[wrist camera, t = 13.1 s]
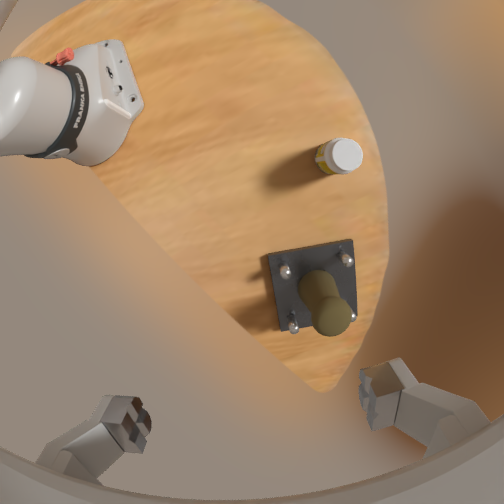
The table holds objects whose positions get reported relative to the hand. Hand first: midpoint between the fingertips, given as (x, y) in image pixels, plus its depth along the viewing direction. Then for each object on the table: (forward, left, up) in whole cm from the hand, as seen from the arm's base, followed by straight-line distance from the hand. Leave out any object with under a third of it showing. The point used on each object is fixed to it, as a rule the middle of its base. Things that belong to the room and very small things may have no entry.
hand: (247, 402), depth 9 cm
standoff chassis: (+11, +8, -34) cm, 37 cm away
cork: (+11, +8, -33) cm, 36 cm away
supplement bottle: (-8, +13, -34) cm, 38 cm away
